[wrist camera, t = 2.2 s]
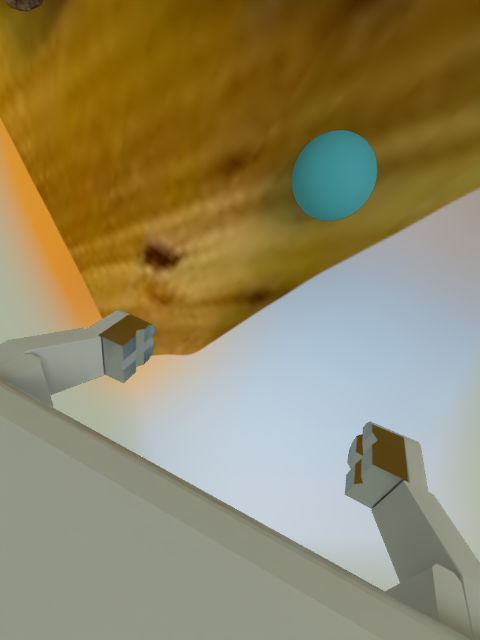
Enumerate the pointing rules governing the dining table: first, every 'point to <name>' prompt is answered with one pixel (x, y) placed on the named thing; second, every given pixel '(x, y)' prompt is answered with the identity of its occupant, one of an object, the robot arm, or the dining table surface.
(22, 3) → the rock
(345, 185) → the ball
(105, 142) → the dining table surface
